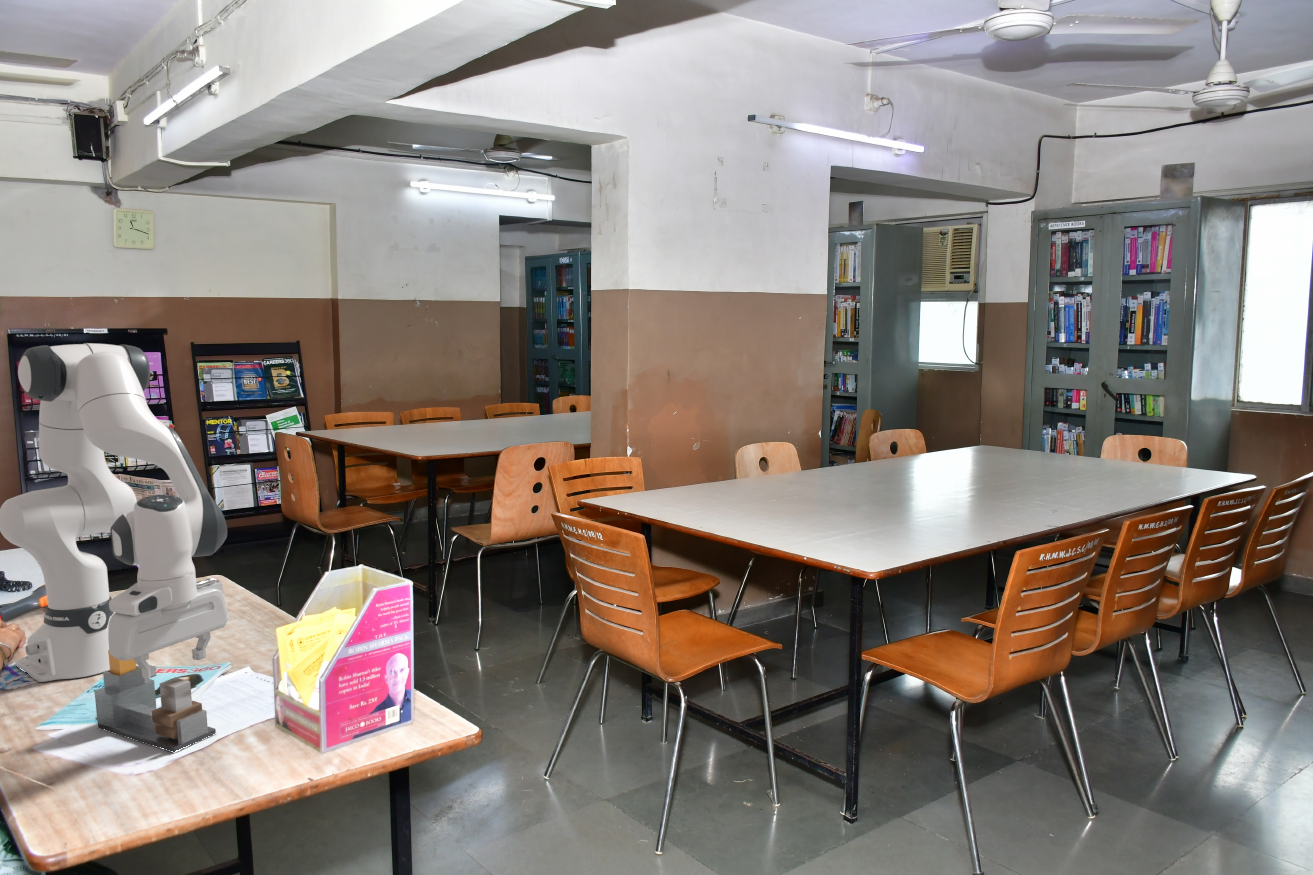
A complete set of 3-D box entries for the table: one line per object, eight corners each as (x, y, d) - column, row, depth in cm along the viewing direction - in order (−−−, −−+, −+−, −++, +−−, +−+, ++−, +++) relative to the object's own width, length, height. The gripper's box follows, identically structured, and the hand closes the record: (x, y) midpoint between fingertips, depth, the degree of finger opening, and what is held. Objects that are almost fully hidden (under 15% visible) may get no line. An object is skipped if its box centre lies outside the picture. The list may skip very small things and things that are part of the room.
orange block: (110, 676, 168) (108, 649, 167) (126, 670, 171) (124, 644, 170) (120, 679, 167) (118, 652, 166) (136, 673, 169) (134, 647, 169)
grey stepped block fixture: (97, 727, 168) (92, 674, 166) (140, 710, 175) (135, 659, 173) (174, 753, 158) (169, 696, 156) (215, 733, 165) (211, 680, 163)
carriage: (153, 734, 162) (149, 685, 160) (185, 720, 167) (181, 673, 166) (172, 740, 159) (168, 691, 158) (203, 726, 164) (199, 678, 163)
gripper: (209, 573, 170) (215, 645, 172) (98, 604, 152) (107, 685, 154) (232, 576, 167) (238, 650, 169) (122, 609, 149) (130, 691, 151)
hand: (175, 667), depth 161 cm, fingers open, 8 cm apart
